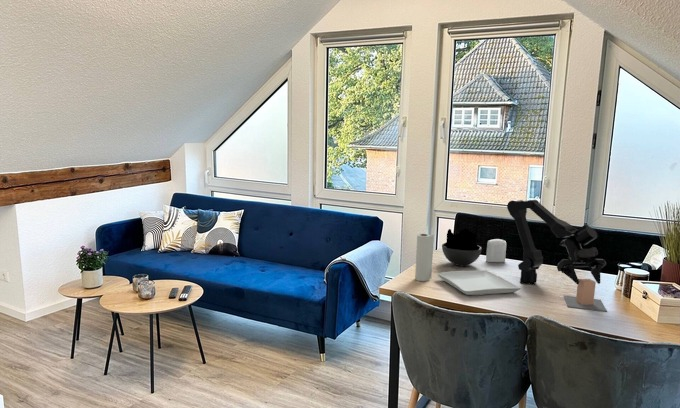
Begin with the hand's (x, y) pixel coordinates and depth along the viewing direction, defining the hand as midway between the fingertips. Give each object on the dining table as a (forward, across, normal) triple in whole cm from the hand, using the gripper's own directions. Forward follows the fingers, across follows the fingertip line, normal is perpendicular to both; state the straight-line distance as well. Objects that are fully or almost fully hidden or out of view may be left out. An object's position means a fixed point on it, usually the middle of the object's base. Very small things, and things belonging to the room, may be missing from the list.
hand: (588, 283), depth 194 cm
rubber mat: (+5, 0, +7) cm, 9 cm away
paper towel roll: (-19, -58, +32) cm, 69 cm away
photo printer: (-40, -8, +54) cm, 68 cm away
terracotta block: (+5, 0, +7) cm, 9 cm away
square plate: (-11, -36, +25) cm, 45 cm away
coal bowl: (-36, -30, +49) cm, 68 cm away
